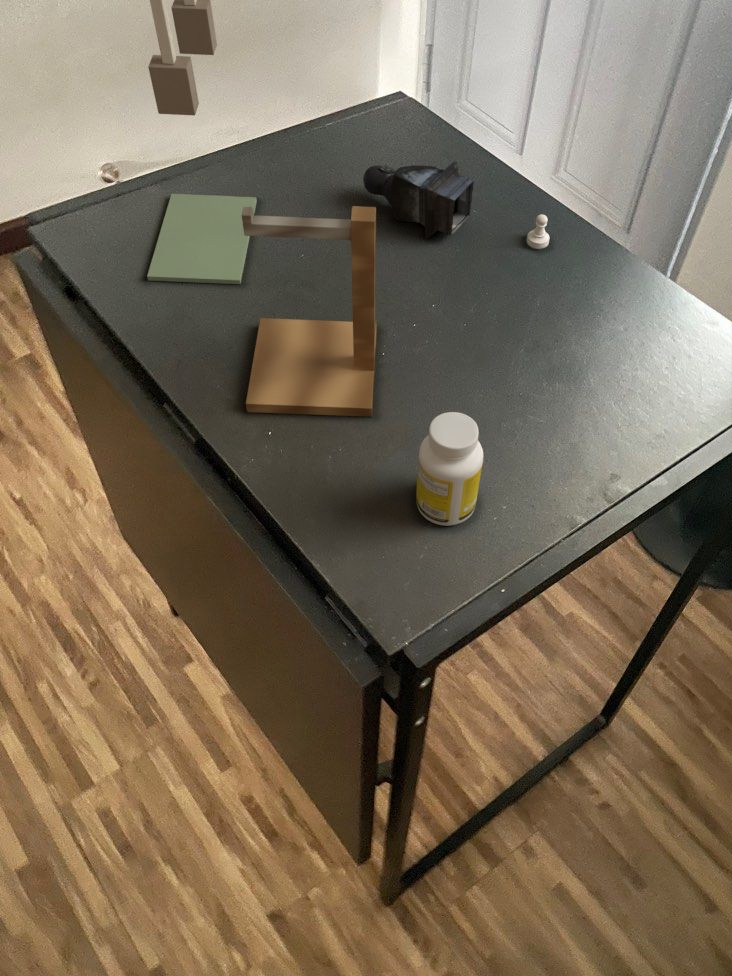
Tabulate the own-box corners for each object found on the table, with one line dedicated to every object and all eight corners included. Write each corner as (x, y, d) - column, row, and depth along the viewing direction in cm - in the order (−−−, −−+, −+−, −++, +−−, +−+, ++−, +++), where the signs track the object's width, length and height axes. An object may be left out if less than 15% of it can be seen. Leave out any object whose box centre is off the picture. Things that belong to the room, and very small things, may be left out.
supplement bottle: (468, 476, 77) (480, 402, 68) (481, 524, 74) (495, 452, 65) (410, 482, 76) (415, 408, 68) (420, 531, 73) (427, 459, 65)
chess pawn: (541, 233, 97) (547, 206, 94) (552, 246, 96) (558, 219, 93) (522, 238, 97) (527, 211, 94) (532, 251, 95) (538, 224, 92)
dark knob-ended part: (378, 183, 102) (378, 131, 96) (473, 219, 98) (479, 168, 93) (349, 209, 98) (348, 158, 93) (447, 248, 95) (452, 197, 90)
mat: (147, 280, 90) (146, 276, 90) (172, 197, 98) (171, 193, 98) (240, 284, 90) (239, 280, 90) (256, 201, 99) (256, 197, 98)
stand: (247, 412, 80) (219, 254, 65) (261, 326, 87) (239, 165, 72) (372, 417, 80) (372, 260, 65) (376, 331, 87) (378, 171, 72)
